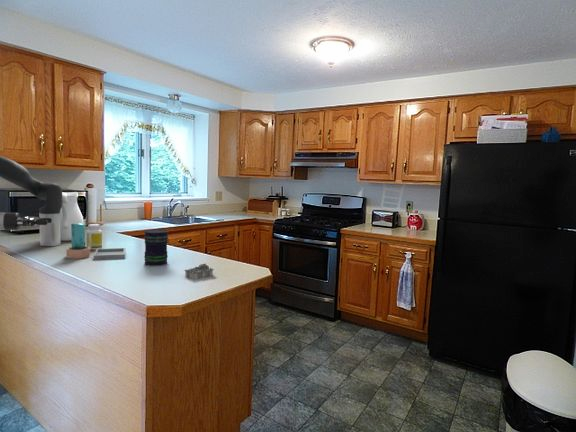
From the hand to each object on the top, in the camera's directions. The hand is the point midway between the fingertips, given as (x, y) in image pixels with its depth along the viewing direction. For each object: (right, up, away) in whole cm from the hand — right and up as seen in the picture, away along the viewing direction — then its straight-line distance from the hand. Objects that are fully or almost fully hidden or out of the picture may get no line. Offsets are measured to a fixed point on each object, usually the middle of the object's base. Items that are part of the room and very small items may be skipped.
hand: (49, 221), depth 157 cm
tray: (+22, -17, +11) cm, 30 cm away
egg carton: (+72, -22, -16) cm, 78 cm away
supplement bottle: (+6, -15, +25) cm, 30 cm away
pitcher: (-21, -12, +45) cm, 51 cm away
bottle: (+9, -16, +6) cm, 20 cm away
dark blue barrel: (+48, -19, 0) cm, 52 cm away
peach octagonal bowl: (+9, -17, +6) cm, 20 cm away
